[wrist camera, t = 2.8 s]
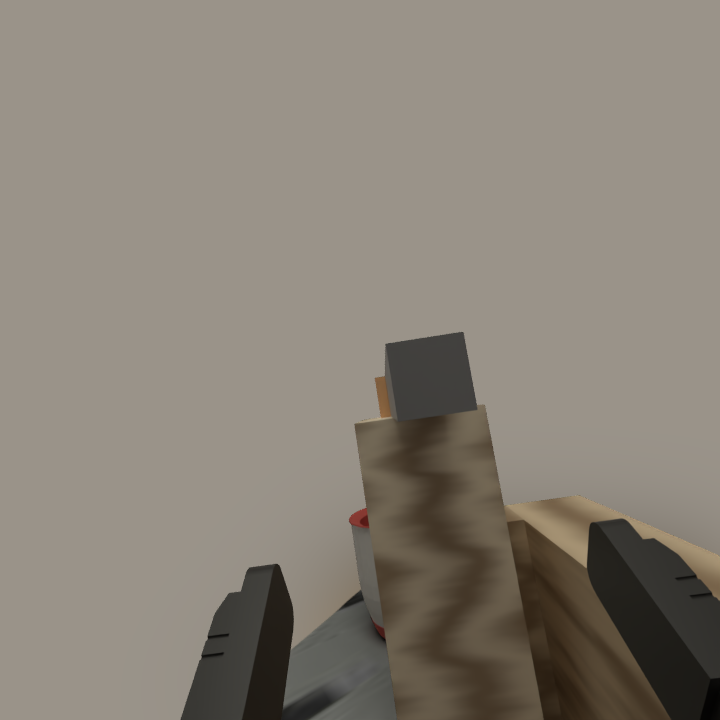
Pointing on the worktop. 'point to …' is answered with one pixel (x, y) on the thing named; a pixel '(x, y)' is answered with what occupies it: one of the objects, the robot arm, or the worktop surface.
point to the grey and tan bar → (426, 378)
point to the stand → (493, 584)
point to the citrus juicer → (367, 567)
